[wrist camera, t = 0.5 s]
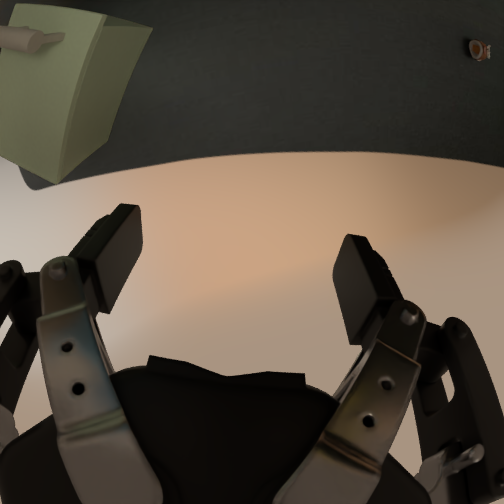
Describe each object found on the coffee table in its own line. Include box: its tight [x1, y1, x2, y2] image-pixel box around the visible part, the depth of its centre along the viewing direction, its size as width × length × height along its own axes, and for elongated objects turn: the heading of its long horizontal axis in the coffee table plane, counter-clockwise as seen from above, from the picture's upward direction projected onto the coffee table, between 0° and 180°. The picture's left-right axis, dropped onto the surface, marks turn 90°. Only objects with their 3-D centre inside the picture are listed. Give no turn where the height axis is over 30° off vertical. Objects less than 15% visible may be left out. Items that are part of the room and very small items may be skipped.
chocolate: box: [469, 39, 491, 61], centre depth 17 cm, size 3×2×4 cm
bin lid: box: [0, 3, 108, 185], centre depth 14 cm, size 17×12×5 cm
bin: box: [60, 16, 153, 180], centre depth 20 cm, size 16×12×11 cm
